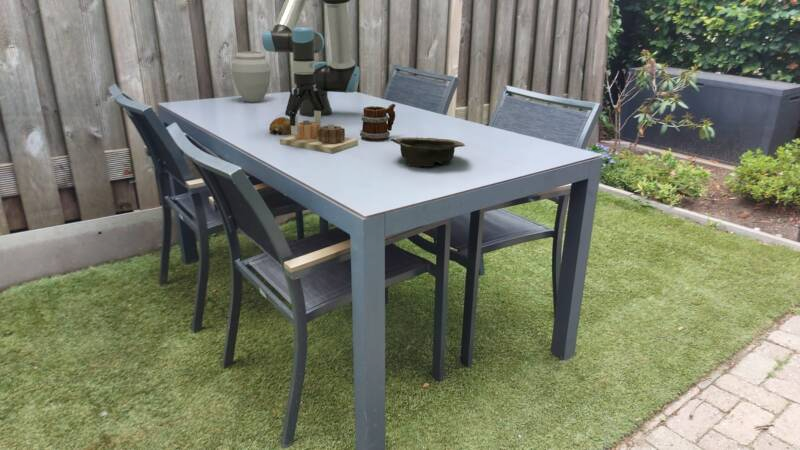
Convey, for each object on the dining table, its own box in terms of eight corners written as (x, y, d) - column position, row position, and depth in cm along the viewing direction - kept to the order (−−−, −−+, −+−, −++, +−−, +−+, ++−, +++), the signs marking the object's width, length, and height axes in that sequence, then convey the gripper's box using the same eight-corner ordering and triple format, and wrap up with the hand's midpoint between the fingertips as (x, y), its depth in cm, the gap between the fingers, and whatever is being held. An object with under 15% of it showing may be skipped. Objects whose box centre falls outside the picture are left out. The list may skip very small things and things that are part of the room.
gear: (308, 141, 206) (308, 127, 204) (288, 137, 211) (287, 124, 209) (324, 136, 214) (324, 123, 212) (305, 133, 218) (304, 120, 216)
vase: (227, 103, 284) (222, 53, 275) (243, 97, 302) (239, 50, 293) (264, 105, 281) (260, 54, 272) (278, 99, 299) (275, 51, 290)
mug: (352, 136, 223) (357, 98, 218) (382, 138, 231) (388, 101, 227) (366, 142, 214) (373, 102, 209) (397, 144, 222) (404, 106, 218)
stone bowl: (410, 174, 177) (410, 145, 174) (381, 160, 198) (380, 133, 196) (478, 166, 186) (479, 138, 183) (443, 153, 208) (443, 128, 205)
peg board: (280, 143, 209) (278, 122, 206) (307, 136, 222) (306, 115, 219) (332, 153, 198) (331, 131, 195) (357, 144, 211) (357, 123, 208)
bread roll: (297, 142, 228) (303, 123, 227) (277, 135, 220) (283, 115, 219) (282, 138, 234) (288, 119, 234) (262, 130, 226) (268, 111, 225)
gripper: (289, 77, 192) (292, 138, 200) (333, 70, 212) (334, 126, 220) (272, 75, 195) (276, 135, 203) (317, 69, 215) (319, 124, 223)
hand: (306, 131), depth 211 cm, fingers open, 13 cm apart
